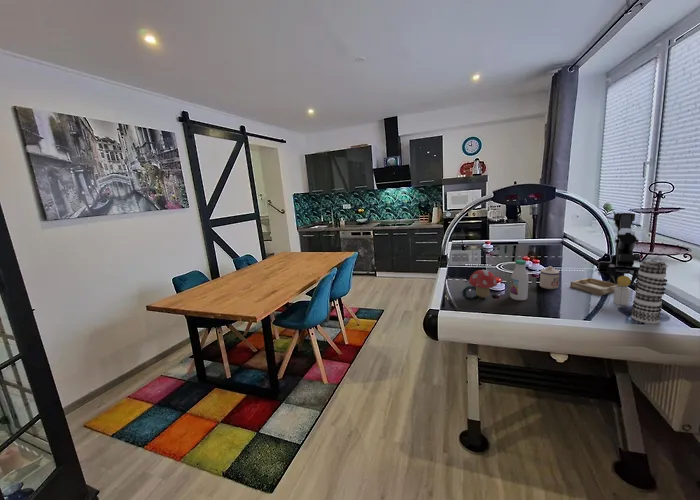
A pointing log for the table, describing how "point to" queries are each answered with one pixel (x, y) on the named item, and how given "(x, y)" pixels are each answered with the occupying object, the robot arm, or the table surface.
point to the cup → (621, 296)
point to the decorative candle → (649, 291)
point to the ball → (623, 281)
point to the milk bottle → (519, 281)
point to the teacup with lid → (549, 278)
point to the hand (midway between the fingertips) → (623, 284)
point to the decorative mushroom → (483, 282)
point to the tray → (594, 286)
